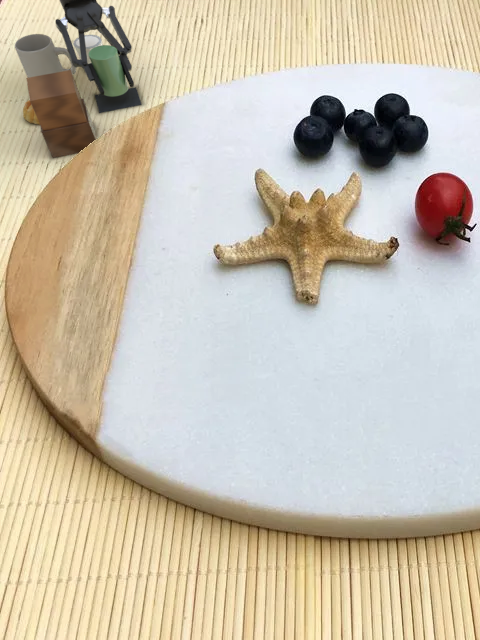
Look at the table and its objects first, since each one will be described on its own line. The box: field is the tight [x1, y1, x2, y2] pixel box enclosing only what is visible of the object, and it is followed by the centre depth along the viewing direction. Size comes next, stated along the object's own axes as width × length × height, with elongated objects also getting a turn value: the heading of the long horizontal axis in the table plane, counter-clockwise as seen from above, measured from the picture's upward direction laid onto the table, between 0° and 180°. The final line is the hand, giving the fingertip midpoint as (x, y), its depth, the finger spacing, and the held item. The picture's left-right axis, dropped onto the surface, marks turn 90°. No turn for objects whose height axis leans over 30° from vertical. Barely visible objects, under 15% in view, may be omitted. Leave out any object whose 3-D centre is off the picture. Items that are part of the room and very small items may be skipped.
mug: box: [14, 33, 77, 78], centre depth 162 cm, size 12×8×11 cm
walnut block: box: [25, 70, 97, 159], centre depth 148 cm, size 10×10×14 cm
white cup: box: [72, 34, 104, 64], centre depth 169 cm, size 7×7×7 cm
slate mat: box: [94, 87, 143, 114], centre depth 163 cm, size 10×8×1 cm
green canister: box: [88, 44, 130, 97], centre depth 157 cm, size 6×6×9 cm
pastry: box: [22, 99, 40, 126], centre depth 157 cm, size 9×7×4 cm
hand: (117, 89), depth 157 cm, fingers closed on green canister, 6 cm apart
